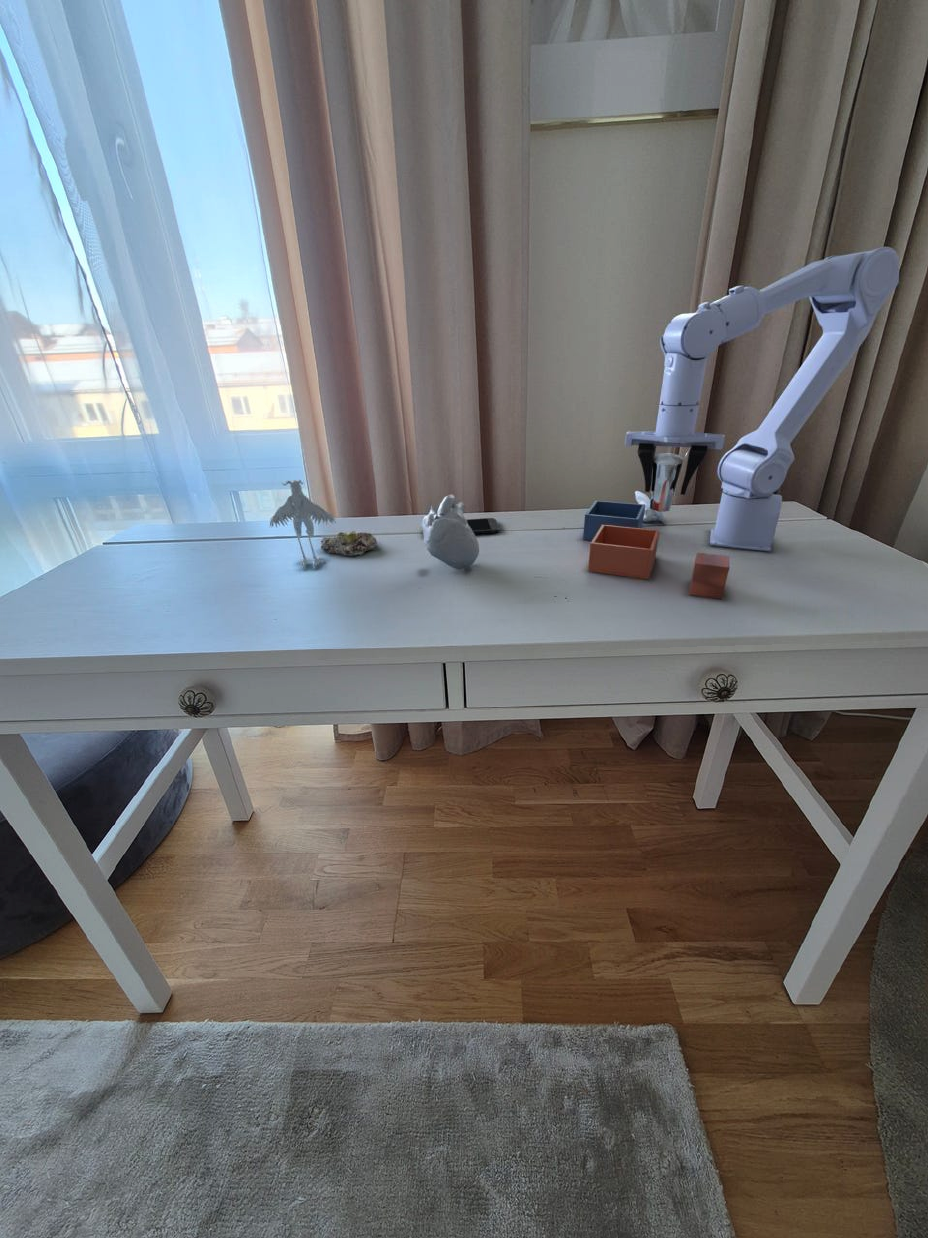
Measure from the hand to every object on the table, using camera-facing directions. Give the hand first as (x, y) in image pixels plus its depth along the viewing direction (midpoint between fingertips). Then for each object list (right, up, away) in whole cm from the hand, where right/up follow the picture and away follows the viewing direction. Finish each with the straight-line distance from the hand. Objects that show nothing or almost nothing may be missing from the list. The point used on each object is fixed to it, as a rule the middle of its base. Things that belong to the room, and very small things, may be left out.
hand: (664, 491), depth 84 cm
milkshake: (0, -3, +2) cm, 3 cm away
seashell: (+4, -1, +19) cm, 19 cm away
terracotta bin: (-7, -12, 0) cm, 14 cm away
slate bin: (-5, -5, +13) cm, 15 cm away
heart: (-36, -12, +3) cm, 38 cm away
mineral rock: (-55, -8, +12) cm, 57 cm away
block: (+2, -17, -9) cm, 20 cm away
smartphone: (-34, -3, +19) cm, 39 cm away
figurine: (-61, -12, +6) cm, 62 cm away
